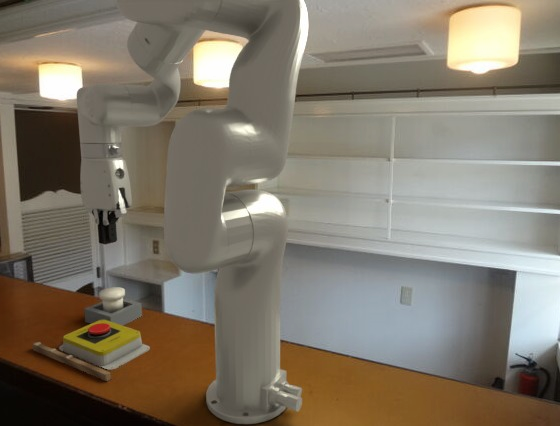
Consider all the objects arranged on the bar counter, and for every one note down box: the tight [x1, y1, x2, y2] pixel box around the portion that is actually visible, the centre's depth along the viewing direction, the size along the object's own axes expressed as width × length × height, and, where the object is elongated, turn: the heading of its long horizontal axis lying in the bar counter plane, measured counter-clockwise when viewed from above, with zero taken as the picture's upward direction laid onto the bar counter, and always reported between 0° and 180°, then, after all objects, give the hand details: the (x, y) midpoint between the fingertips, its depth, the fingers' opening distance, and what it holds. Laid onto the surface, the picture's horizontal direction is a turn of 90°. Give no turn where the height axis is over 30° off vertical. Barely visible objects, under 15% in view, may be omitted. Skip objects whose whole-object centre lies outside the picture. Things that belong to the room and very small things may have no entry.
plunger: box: [98, 286, 126, 313], centre depth 93 cm, size 5×5×4 cm
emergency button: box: [58, 320, 151, 371], centre depth 81 cm, size 9×4×15 cm
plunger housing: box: [84, 297, 143, 326], centre depth 93 cm, size 8×8×3 cm
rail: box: [32, 341, 112, 382], centre depth 76 cm, size 20×1×1 cm, turn 60°
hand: (108, 242), depth 90 cm, fingers closed
